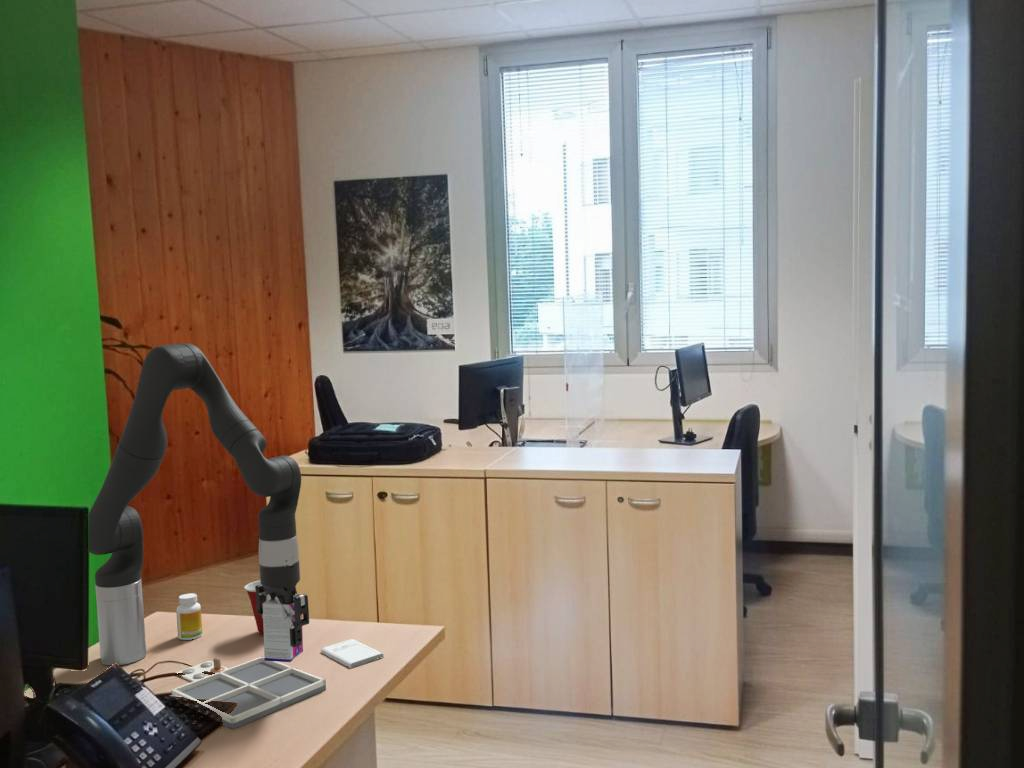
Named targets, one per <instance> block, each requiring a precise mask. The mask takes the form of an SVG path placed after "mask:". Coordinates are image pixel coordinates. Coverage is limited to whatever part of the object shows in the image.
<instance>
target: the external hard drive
mask: <svg viewBox="0 0 1024 768" xmlns="http://www.w3.org/2000/svg"><path fill="white" fill-rule="evenodd" d="M320 653H321V654H324V655H325V656H327V657H328V658H330V659H332V660H335V661H336V662H339V664H342V665H344V666H346V667H347V666H348V668H349V669H352V668H355V666H356V667H358V665H359V666H361V664H362V665H365V664H368V663H371V662H373V661H372V660H374V661H376V660H375V659H377V658H380V657H383V658H384V653H383V652H380V651H379V650H376V649H374V648H372V647H370V646H369V645H368V646H367V645H366V644H364V643H361V642H359V641H358V640H356V639H353V638H351V639H347V640H343V641H341V642H338V643H334V644H331V645H330V644H329V645H327V646H324V647H322V648H321V649H320ZM380 659H381V658H380ZM377 660H378V659H377ZM370 661H371V662H370ZM367 662H368V663H367ZM364 663H365V664H364Z"/></svg>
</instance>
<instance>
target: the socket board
mask: <svg viewBox="0 0 1024 768" xmlns="http://www.w3.org/2000/svg"><path fill="white" fill-rule="evenodd" d="M228 668H229V669H226V670H223V671H221V672H218V673H215V674H212V675H210V676H207V677H204V678H202V679H199V680H196V681H193V682H191V681H190V682H188V683H185V684H182V685H180V686H177V687H174V688H172V689H170V691H171V692H170V695H177V696H181V697H185V698H187V699H190V700H194V701H197V703H199V704H201V705H203V706H205V707H207V708H209V709H210V710H212V711H214V712H216V713H217V714H218V715H220V716H221V717H222V722H223V724H224V725H223V724H222V725H223V726H225V725H226V726H225V727H227V728H229V729H231V730H234V729H237V728H239V727H241V726H244V725H246V724H248V723H250V722H253V721H255V720H258V719H260V718H262V717H265V716H266V715H269V714H271V713H274V712H278V711H279V710H282V709H283V708H286V707H288V705H289V706H291V705H292V704H293V705H294V704H296V703H297V702H300V701H302V700H305V699H307V698H310V697H312V696H314V695H317V694H318V693H322V692H324V691H325V690H327V685H326V683H327V682H326V678H323V677H320V676H317V675H315V674H313V673H312V674H311V673H309V672H306V671H305V670H301V669H298V668H296V667H293V666H290V665H288V664H285V663H284V662H277V661H264V655H262V656H260V657H257V658H254V659H251V660H248V661H245V662H243V663H240V664H237V665H235V666H232V667H228ZM195 698H198V699H209V700H206V701H204V702H201V701H199V700H197V699H195ZM211 701H222V702H235V703H237V706H236V707H235V708H234V710H233V711H232V712H231V713H229V714H227V713H225V712H222V711H220V710H218V709H216V708H214V707H212V706H210V705H208V704H205V703H208V702H211ZM295 702H296V703H295Z"/></svg>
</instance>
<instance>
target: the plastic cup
mask: <svg viewBox="0 0 1024 768" xmlns="http://www.w3.org/2000/svg"><path fill="white" fill-rule="evenodd" d="M260 584H261V583H260V579H258V580H256V581H252V582H249V583H247V584H245V585H244V587H243V588H244V590H245V591H246V592H247V595H248V597H249V598H248V599H249V600H250V604H251V609H252V613H253V616H254V620H255V624H256V628H257V631H258V634H259V635H260V636H263V637H264V628H263V618H262V615H261V614H260V615H258V614H257V610H256V590H255V587H256V586H257V585H260ZM263 603H265V602H262V607H263Z"/></svg>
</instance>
